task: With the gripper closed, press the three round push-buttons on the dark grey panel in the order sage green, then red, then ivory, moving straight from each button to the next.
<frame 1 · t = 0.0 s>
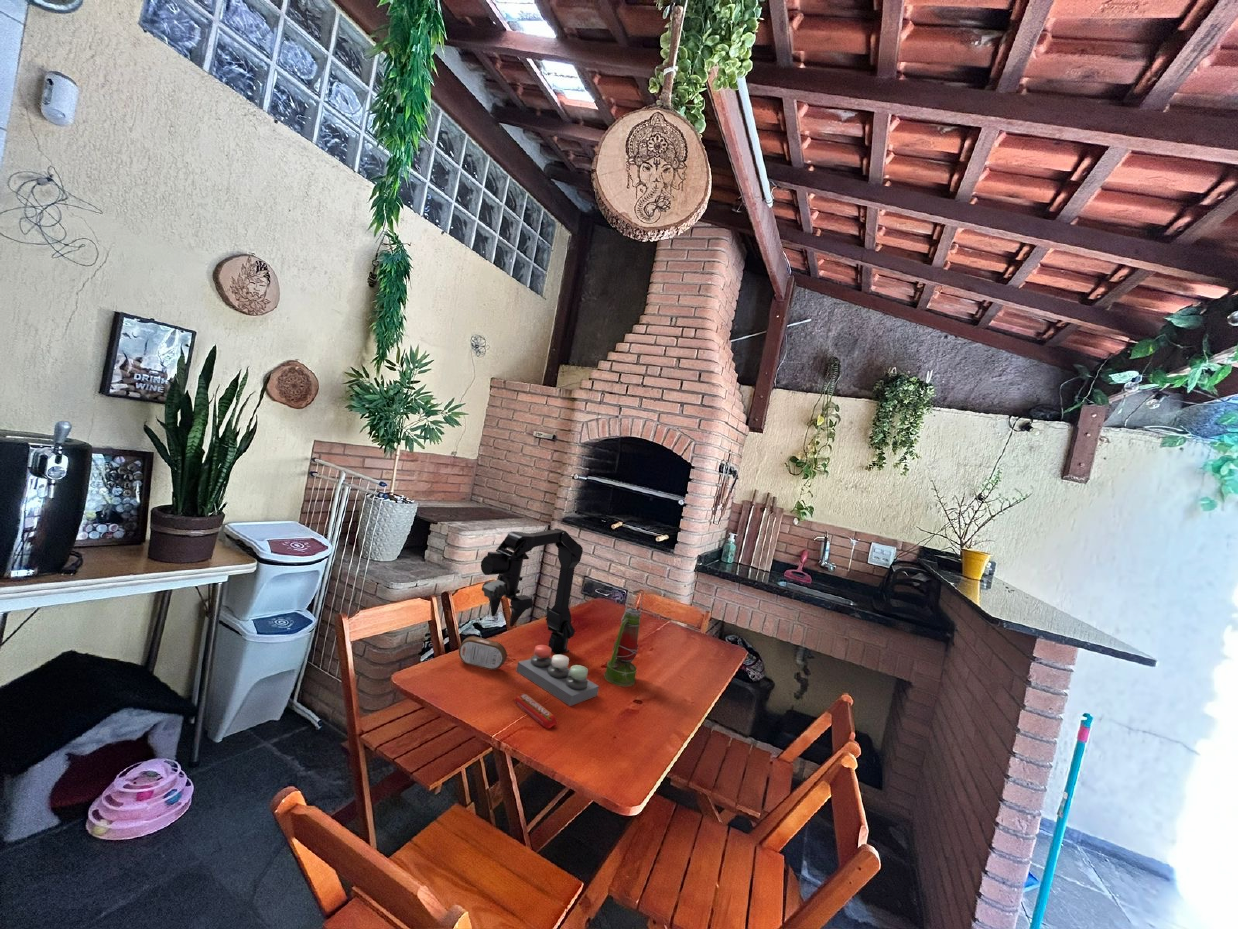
hand: (502, 621, 165), 15 cm above the table, tool pointing down, fingers open, 9 cm apart
white button: (560, 661, 162), point 7 cm above the table, slide at 0.0 cm
red button: (542, 651, 167), point 7 cm above the table, slide at 0.0 cm
candy bar: (533, 716, 142), on the table
green button: (578, 672, 157), point 7 cm above the table, slide at 0.0 cm
lantern: (619, 679, 174), on the table
button panel: (556, 683, 162), on the table
tin: (479, 667, 163), on the table
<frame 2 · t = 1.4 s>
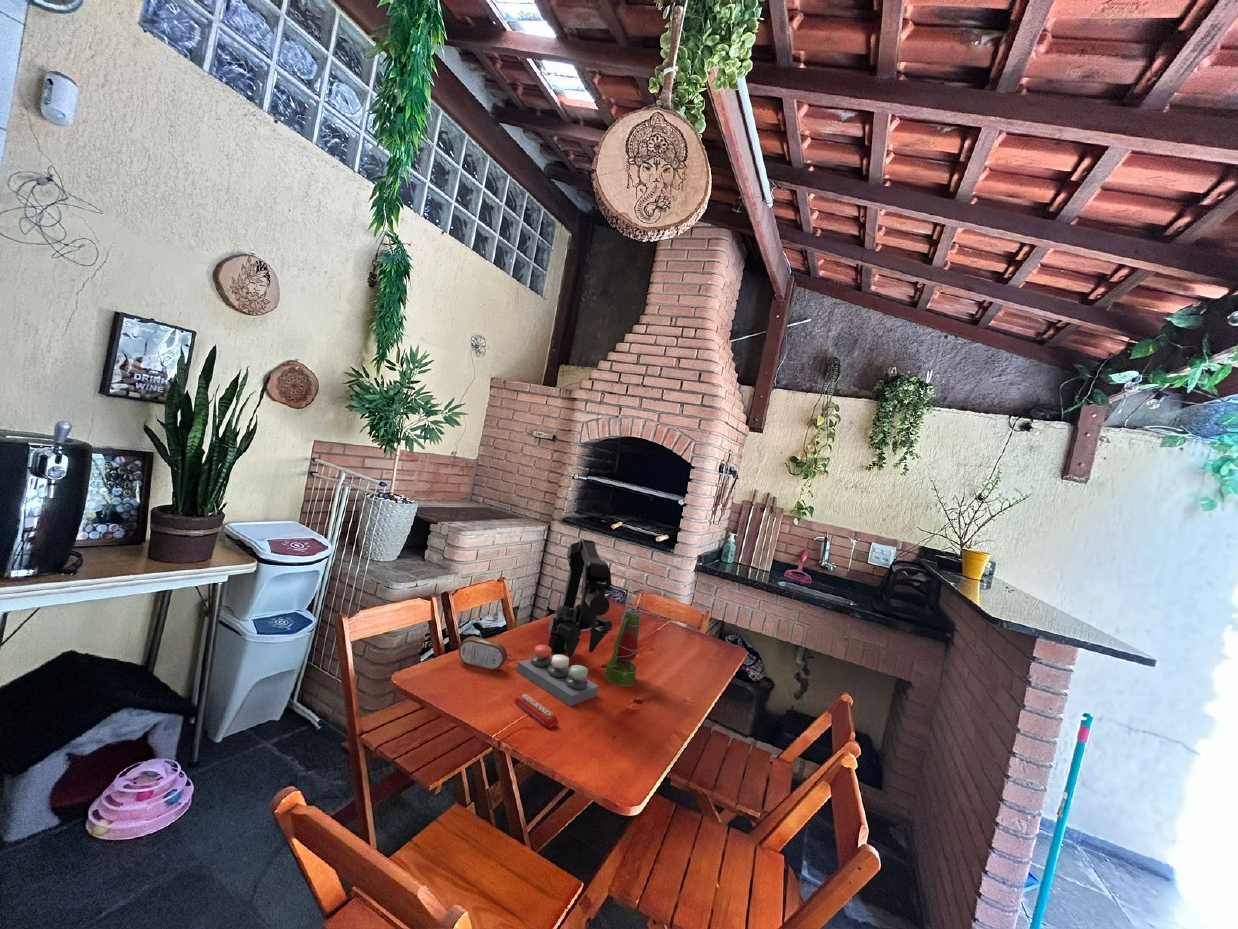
hand: (580, 654, 156), 12 cm above the table, tool pointing down, fingers open, 9 cm apart
nothing on the table moved.
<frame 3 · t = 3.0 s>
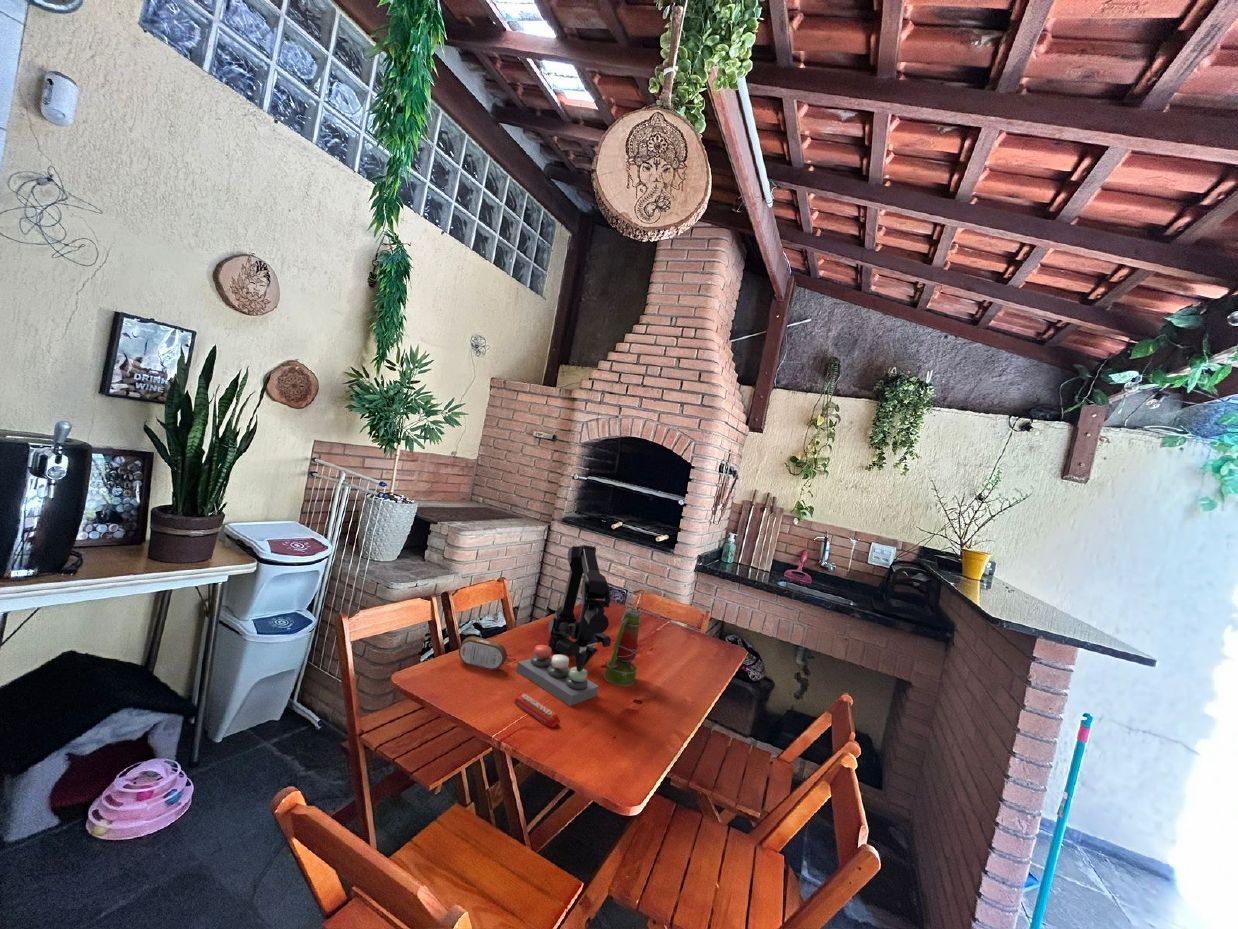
hand: (578, 671, 157), 7 cm above the table, tool pointing down, fingers closed, pressing on green button
green button: (578, 674, 157), point 6 cm above the table, slide at 0.6 cm, touching gripper
everything else where it was.
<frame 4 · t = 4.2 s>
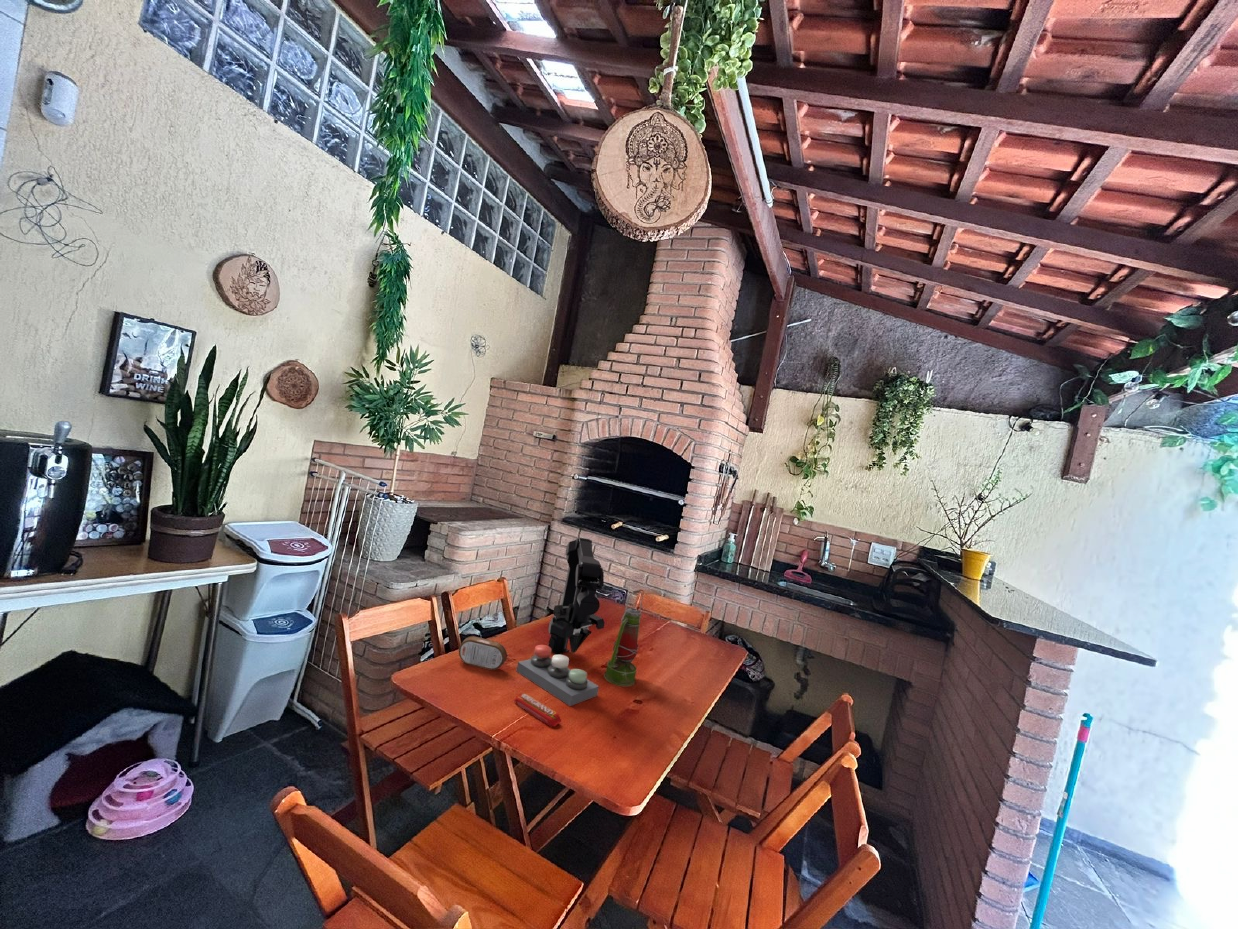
hand: (573, 652, 159), 11 cm above the table, tool pointing down, fingers closed
green button: (578, 676, 157), point 6 cm above the table, slide at 1.2 cm
everything else where it was.
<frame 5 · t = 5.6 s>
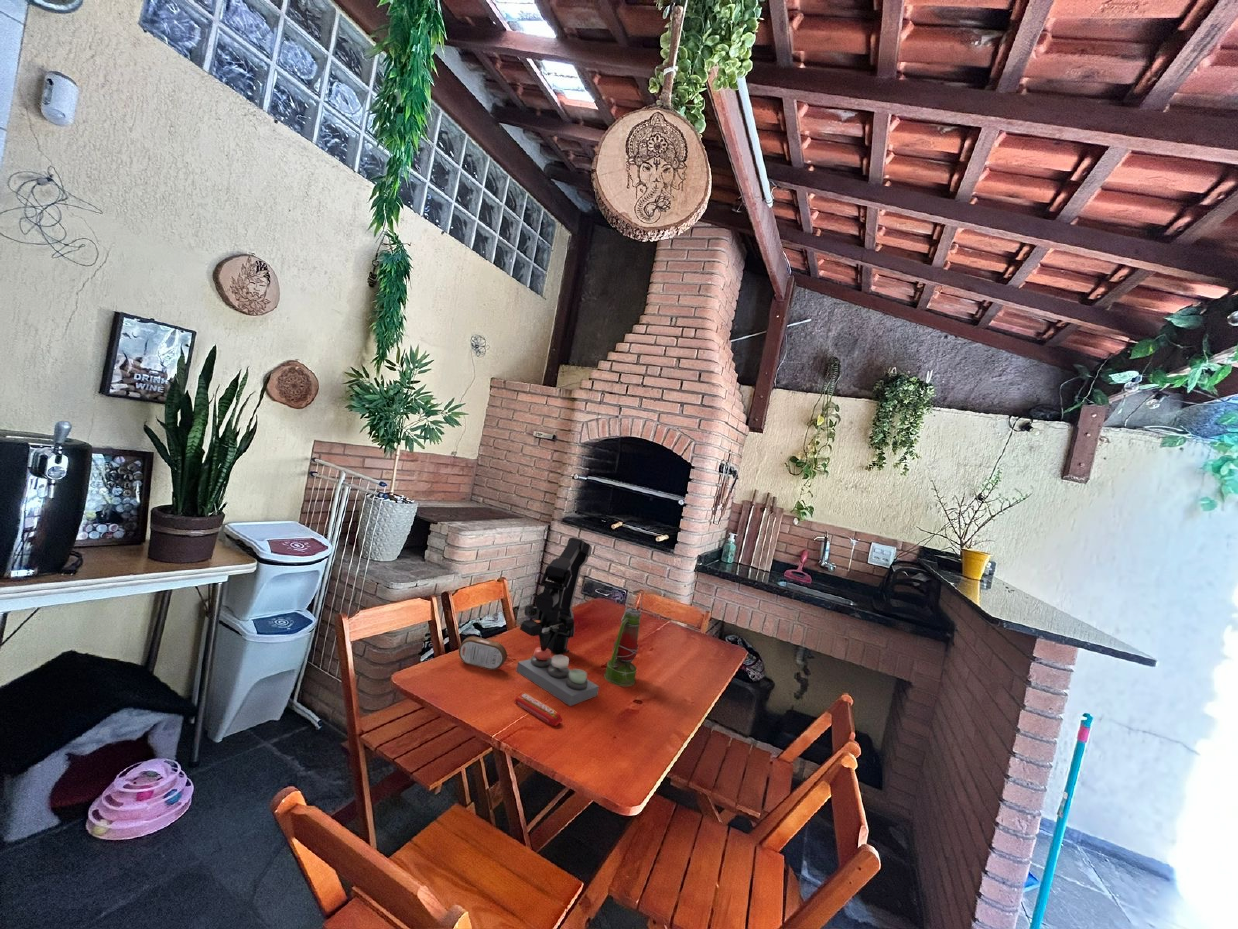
hand: (543, 650, 167), 7 cm above the table, tool pointing down, fingers closed, pressing on red button
red button: (542, 653, 167), point 6 cm above the table, slide at 0.8 cm, touching gripper
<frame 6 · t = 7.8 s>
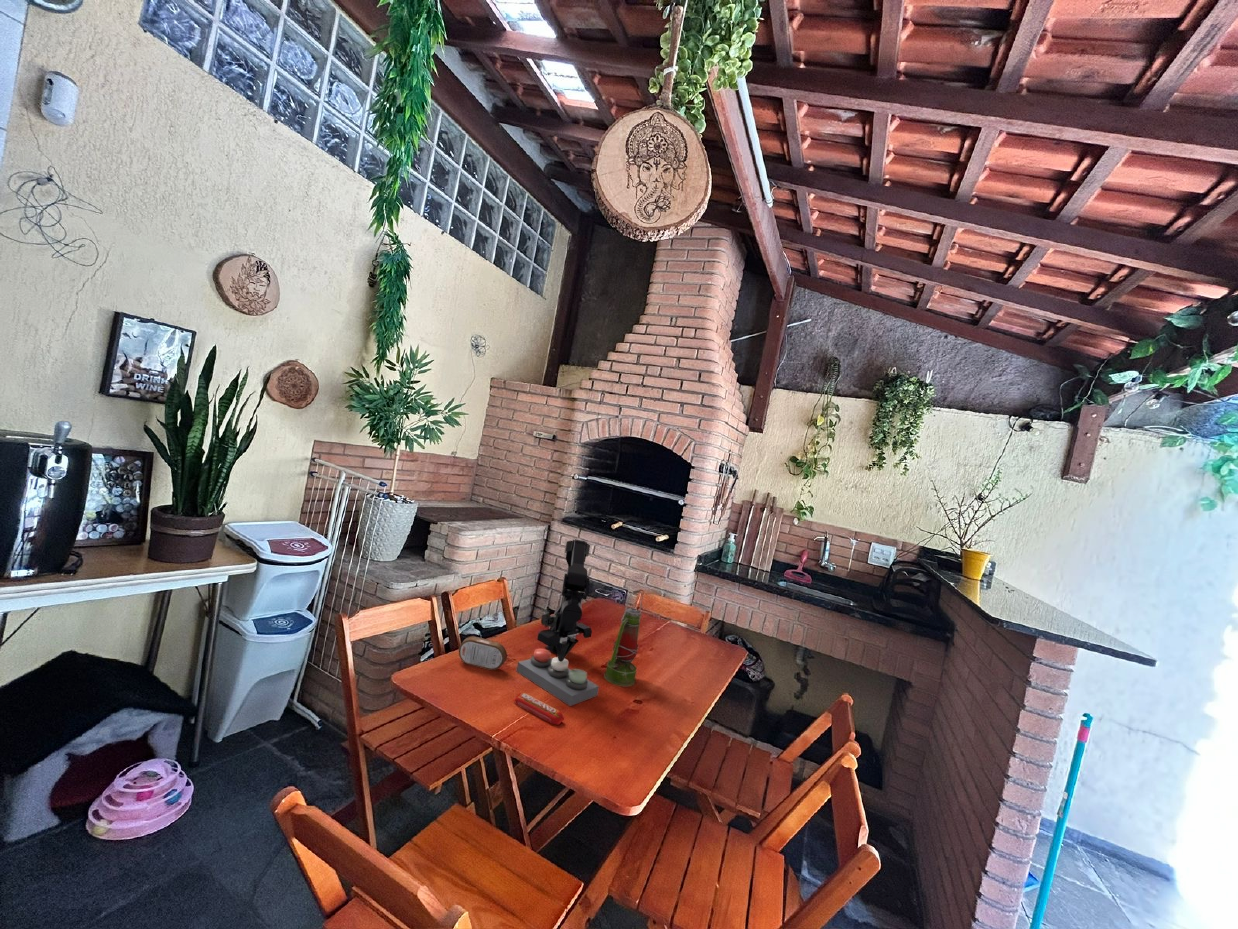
hand: (560, 660, 162), 7 cm above the table, tool pointing down, fingers closed, pressing on white button
white button: (559, 664, 162), point 6 cm above the table, slide at 0.8 cm, touching gripper
red button: (542, 655, 167), point 6 cm above the table, slide at 1.3 cm
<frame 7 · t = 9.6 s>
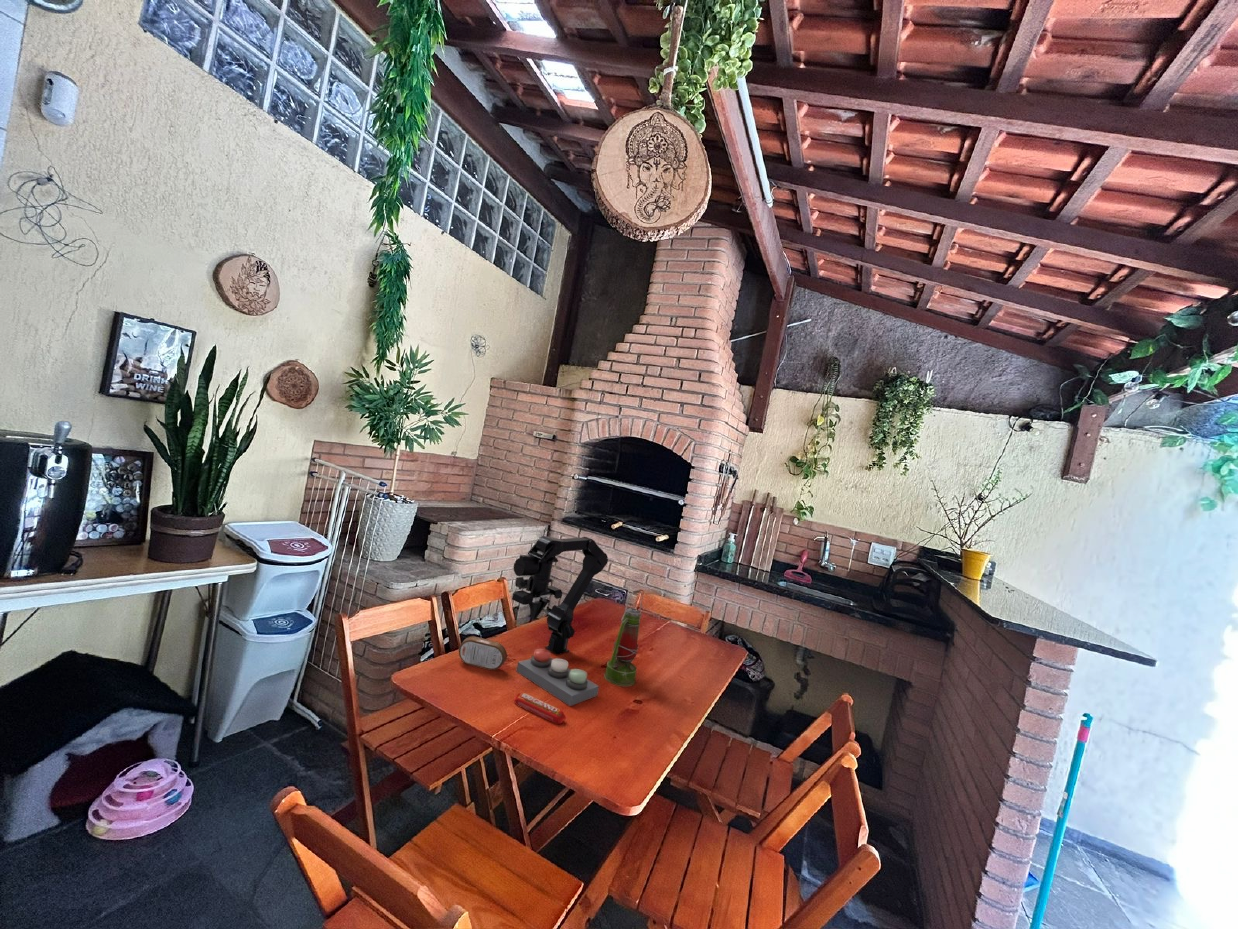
hand: (533, 619, 177), 13 cm above the table, tool pointing down, fingers closed
white button: (559, 665, 162), point 6 cm above the table, slide at 1.3 cm
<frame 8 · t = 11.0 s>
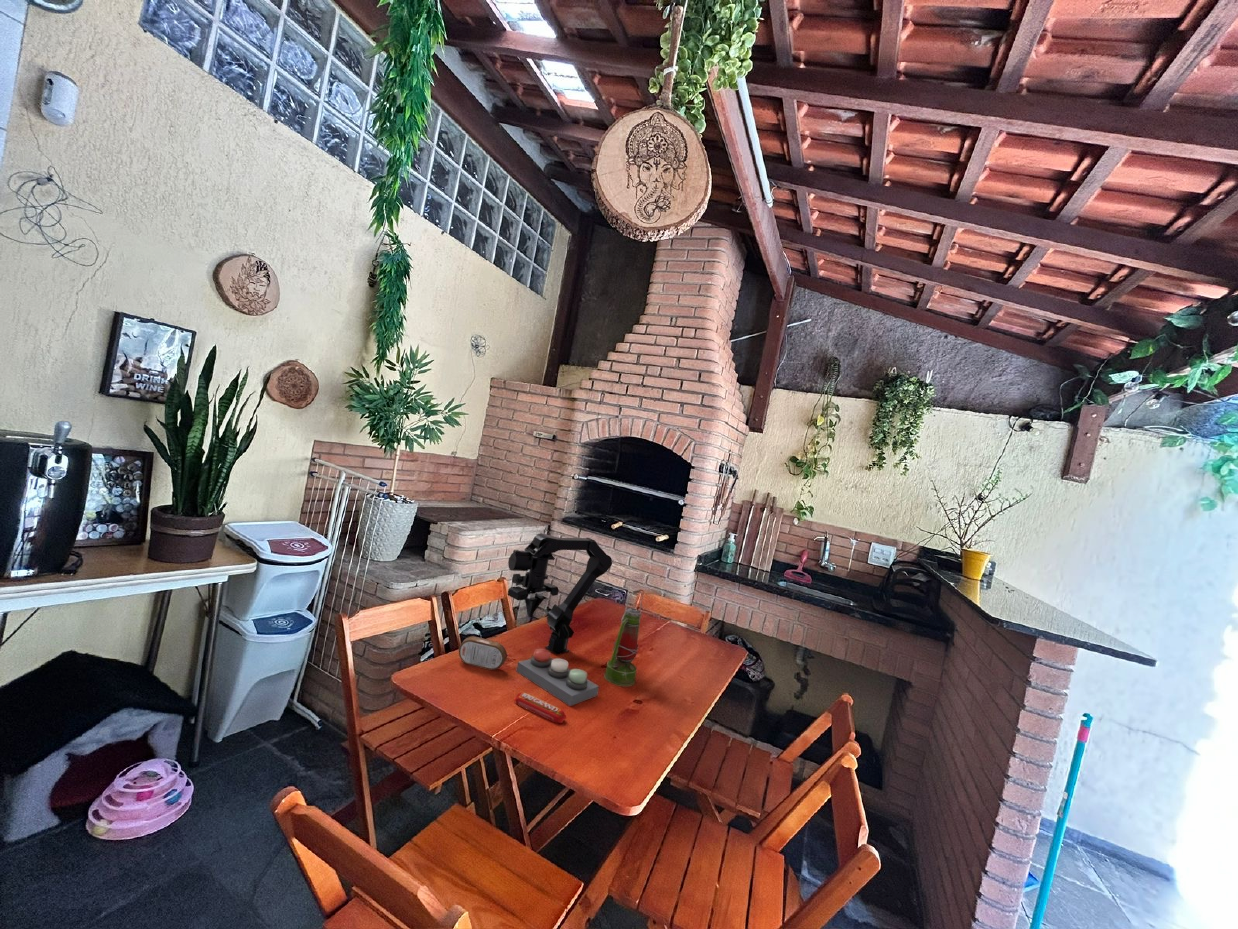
hand: (529, 615, 179), 13 cm above the table, tool pointing down, fingers closed
at the end: green button slide at 1.2 cm; red button slide at 1.3 cm; white button slide at 1.3 cm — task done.
